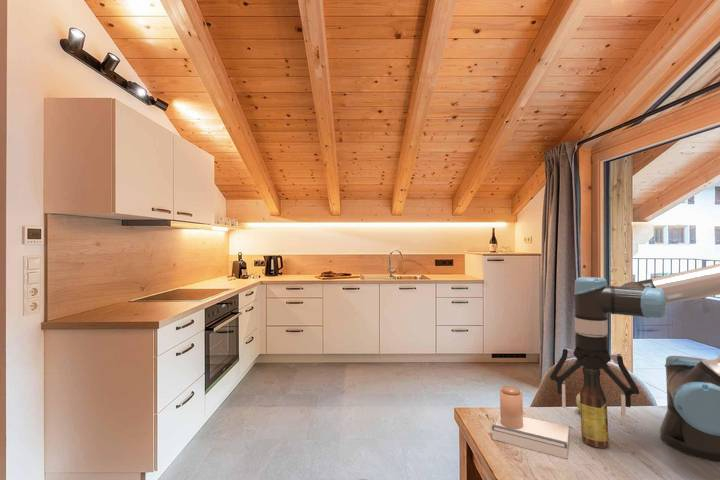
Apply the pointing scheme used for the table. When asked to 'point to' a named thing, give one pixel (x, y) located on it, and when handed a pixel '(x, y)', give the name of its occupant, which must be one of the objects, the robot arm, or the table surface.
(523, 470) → the table surface
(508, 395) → the terracotta jar
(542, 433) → the white rectangular box
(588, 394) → the sauce bottle
